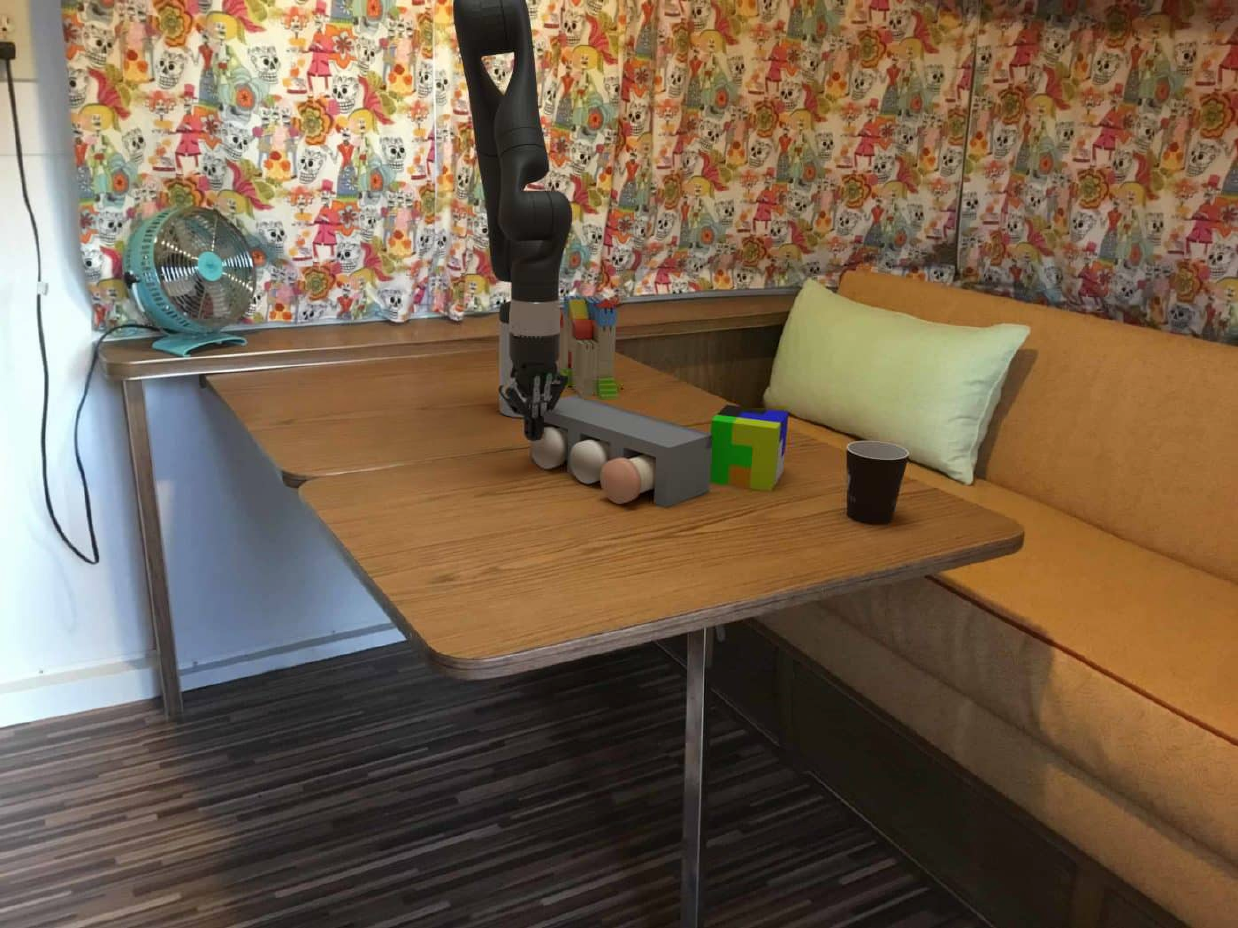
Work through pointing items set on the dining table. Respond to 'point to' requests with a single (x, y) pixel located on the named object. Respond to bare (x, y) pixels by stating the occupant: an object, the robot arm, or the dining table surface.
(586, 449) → the middle birch plug
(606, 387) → the toy castle
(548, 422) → the socket block
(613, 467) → the terracotta plug
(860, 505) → the coffee mug
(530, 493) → the dining table surface
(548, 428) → the near birch plug
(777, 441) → the puzzle toy
